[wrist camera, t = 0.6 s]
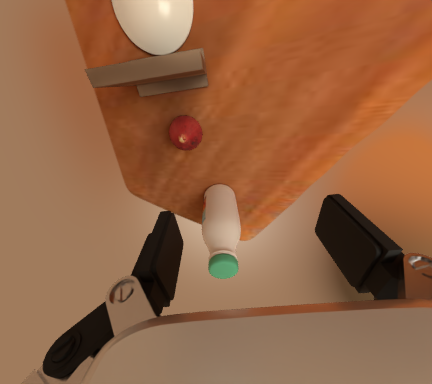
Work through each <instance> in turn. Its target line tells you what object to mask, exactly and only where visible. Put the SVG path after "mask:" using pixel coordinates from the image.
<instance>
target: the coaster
mask: <svg viewBox="0 0 432 384" xmlns="http://www.w3.org/2000/svg"><path fill="white" fill-rule="evenodd" d="M112 5H113V8H114V12H115V14H116V17H117V19H118V21H119V23H120V25H121V27H122V29H123V30H124V32H125V33H126V35H127V36H128V37H129V38H130V39H131V41H132V42H133V43H135V44H136V45H137V46H138V47H139V48H141V49H142V50H144V51H146V52H148V53H151V54H154V55H165V54H171V53H174V52H176V51H177V50H178V49H180V48H181V47H182V45H183V44H184V43H185V41H186V40H187V38H188V36H189V33H190V30H191V27H192V22H193V0H112Z"/></svg>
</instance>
